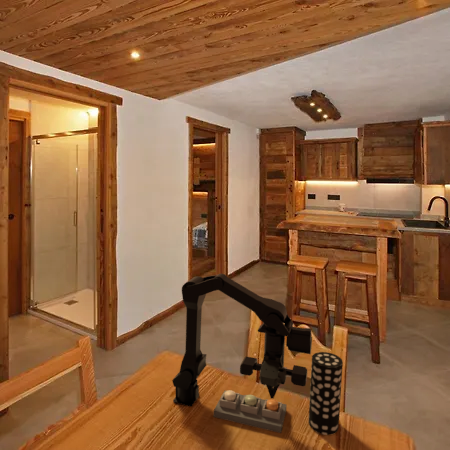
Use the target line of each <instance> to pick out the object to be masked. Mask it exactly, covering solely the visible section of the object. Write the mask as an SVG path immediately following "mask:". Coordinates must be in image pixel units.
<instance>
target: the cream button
mask: <svg viewBox="0 0 450 450" xmlns="http://www.w3.org/2000/svg"><path fill="white" fill-rule="evenodd" d="M225 391H226V392H225V395H224V400H227V401H232V402H235V400H236V393H237V392H235V391H234V390H231V389H230V390H229V389H228V390H225Z"/></svg>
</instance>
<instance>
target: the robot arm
mask: <svg viewBox="0 0 450 450" xmlns="http://www.w3.org/2000/svg"><path fill="white" fill-rule="evenodd" d="M216 291H220V292H221V293H222V294H224V295H226V296H227V297H228V298H230V299H232V300H235V302H237V303H239V304H240V305H242V306H244V307H246V308H247V309H249V310H250V311H252V312H253V313H254V314H255V315H256V316H257V318H258V319H259V320H260V322H262V324H260V325H259V327H258V329H257V332H258V333H261V334H262V333H263V334H264V342H263V343H264V346H263V347H264V348H263V359H262V362H261V363H258V358H256V357H252V356H245V357H244V358H243V360H242V362H241V363H240V365H239V373H240V375H244V376H249V377H250V376H252V375H253V374H254V371H259V377H258V378H259V381H260V384H261V385H263V386H266V388H267V392H268V393H269V397H270V399H274V400H275V396H276V394H277V390H278V389H279V387H280V386H281V385H285V384H286V381H287V377H288V378H290V381H291V383H292V384H293V385H295V386H300V387H306V385H307V379H308V368H307V367H306V366H302V365H295V364H293V367H292V369H290V368H288V367H286V366H285V345H286V347H287V351H288V350H289V351H290V352H295V353H300V354H306V355H311V354H312V347H313V346H312V345H313V336H312V328H308V327H305V328H304V327H297V326H294V322H293V320H292V319H291V318H290V316H289V314H288V309H287V307H286V305H284V303H282V302H279V301H278V300H275V299H273V298H272V299H271V298H268V297H262V296H260V295H258V294H257V293H255V292H254V291H252V290H250V289H249V288H247V287H245V286H243V285H241V284H240V283H238V282H237V281H236V280H233V279H232V278H230V277H228V275H226V274H225V273H218V274H213V275H208V276H204V277H202V276H198V275H197V276H194V277H192V278H191V279H189V280H188V281H186V282H185V283H183V284H182V286H181V296H182V302H183V304H184V305H185V306H184V307H186V309H185V310H186V313H185V314H186V317H185V318H186V319H185V321H186V322H185V352H184V355H183V357H182V361H181V362H180V368H179V372H177V374H176V375H175V376H174V377H173V378H172V384H173V387H174V388H175V397H174V399H173V400H172V402H173V403H175V404H179V405H183V406H187V407H193V406H194V404H195V403H196V401H197V400H198V399H199V398H200V397H199V396H200V393H199V391H200V386H199V384H198V378H199V376H200V375H201V374H202V372H203V371H204V370H205V368H206V367H207V362H206V361H207V360H206V359H207V354H205V353H202V351H201V336H202V309H203V304H204V301H205V298H206V295H207V294H210V293H211V292H216Z"/></svg>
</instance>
